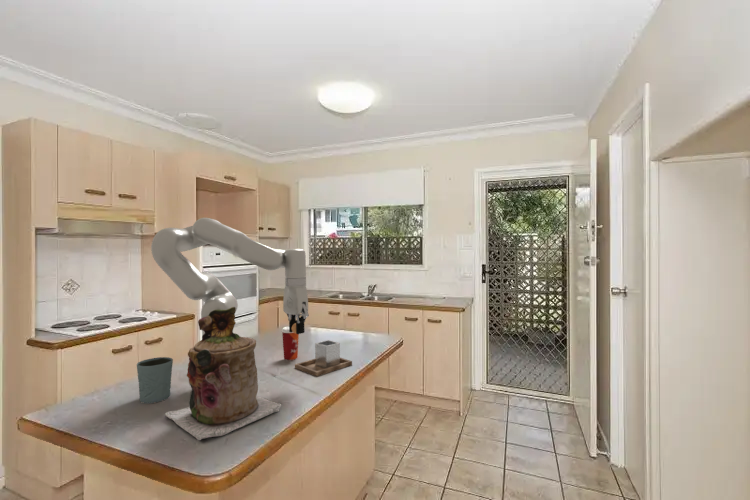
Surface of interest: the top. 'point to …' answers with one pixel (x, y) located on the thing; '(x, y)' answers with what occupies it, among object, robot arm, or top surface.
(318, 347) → the square metal container
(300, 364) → the walnut tray
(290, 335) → the paper cup
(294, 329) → the mixing ball
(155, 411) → the top surface
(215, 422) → the cookie jar
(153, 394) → the teal cup
